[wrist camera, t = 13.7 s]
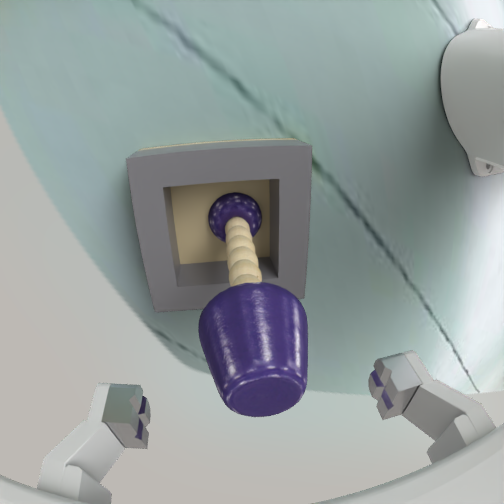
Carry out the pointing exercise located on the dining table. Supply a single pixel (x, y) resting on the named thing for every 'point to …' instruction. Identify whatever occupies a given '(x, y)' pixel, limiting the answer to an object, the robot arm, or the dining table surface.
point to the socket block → (197, 209)
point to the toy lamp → (252, 322)
